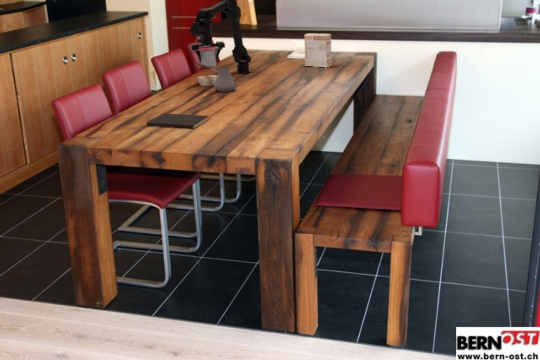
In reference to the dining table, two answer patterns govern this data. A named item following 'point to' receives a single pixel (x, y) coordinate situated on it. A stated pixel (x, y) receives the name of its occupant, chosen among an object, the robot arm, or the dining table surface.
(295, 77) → the dining table surface
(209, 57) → the medicine box
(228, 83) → the coffee pot
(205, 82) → the cream shallow bowl
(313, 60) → the coffeecake box
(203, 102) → the dining table surface
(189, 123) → the hardcover book
